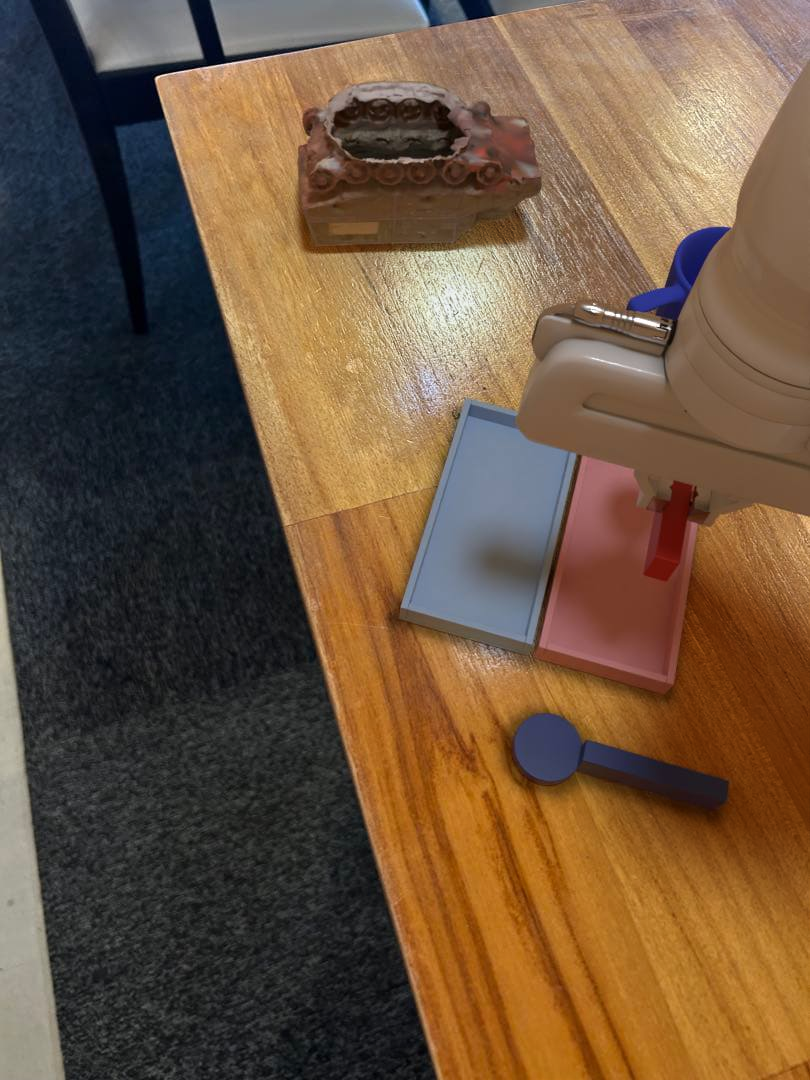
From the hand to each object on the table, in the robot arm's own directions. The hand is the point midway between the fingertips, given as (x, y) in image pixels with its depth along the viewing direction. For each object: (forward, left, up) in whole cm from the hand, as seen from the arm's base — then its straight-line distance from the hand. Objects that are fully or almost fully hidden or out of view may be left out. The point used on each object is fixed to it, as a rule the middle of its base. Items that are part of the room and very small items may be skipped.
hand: (674, 507), depth 54 cm
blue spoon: (-2, +11, -14) cm, 18 cm away
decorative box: (+23, -33, -14) cm, 42 cm away
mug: (-1, -23, -14) cm, 26 cm away
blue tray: (+9, -4, -14) cm, 17 cm away
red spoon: (0, -3, -2) cm, 4 cm away
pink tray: (0, -4, -14) cm, 14 cm away
